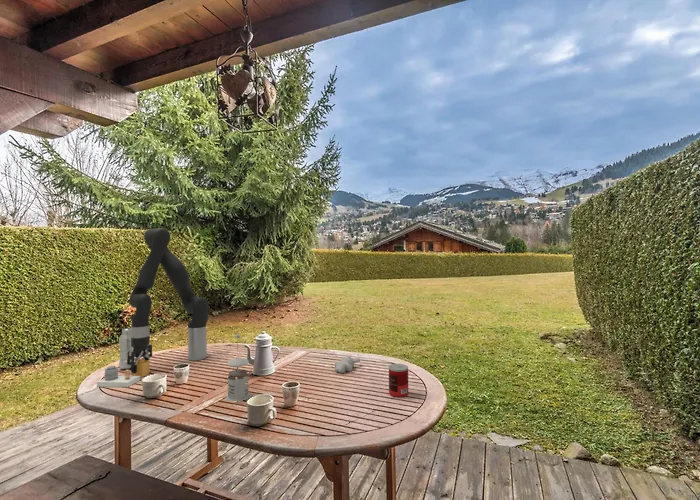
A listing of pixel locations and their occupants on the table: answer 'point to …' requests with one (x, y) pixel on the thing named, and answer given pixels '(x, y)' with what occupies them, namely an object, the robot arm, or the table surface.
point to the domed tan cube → (142, 368)
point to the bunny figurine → (345, 364)
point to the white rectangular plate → (118, 382)
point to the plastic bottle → (125, 348)
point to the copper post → (127, 374)
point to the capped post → (111, 373)
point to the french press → (238, 380)
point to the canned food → (398, 380)
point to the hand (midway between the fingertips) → (140, 370)
